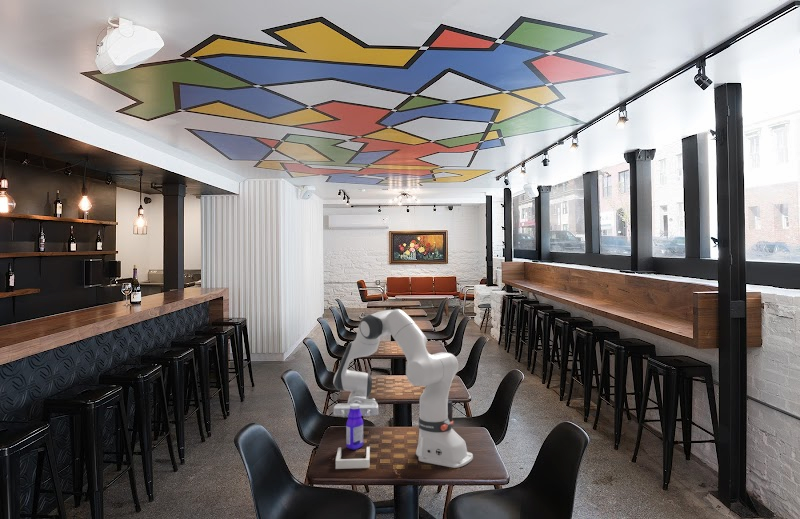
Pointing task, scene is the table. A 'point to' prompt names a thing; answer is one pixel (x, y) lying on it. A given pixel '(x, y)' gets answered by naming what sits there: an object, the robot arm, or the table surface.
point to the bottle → (354, 428)
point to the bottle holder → (352, 461)
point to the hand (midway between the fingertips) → (355, 415)
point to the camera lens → (450, 410)
